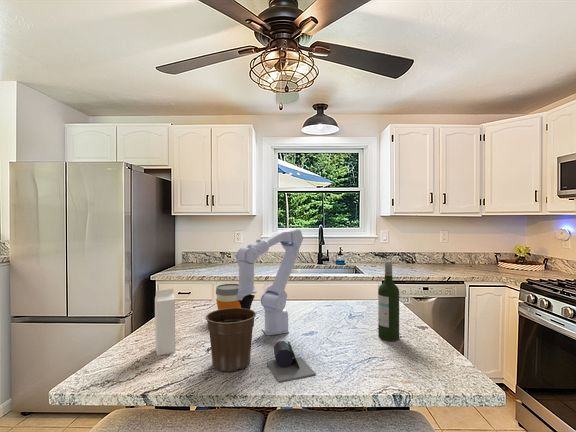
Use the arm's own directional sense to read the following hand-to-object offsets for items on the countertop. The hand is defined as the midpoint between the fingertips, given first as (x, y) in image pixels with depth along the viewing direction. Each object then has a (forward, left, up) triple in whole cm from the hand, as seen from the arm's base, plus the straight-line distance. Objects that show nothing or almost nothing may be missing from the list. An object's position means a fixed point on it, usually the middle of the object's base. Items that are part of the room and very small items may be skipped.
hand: (245, 314), depth 124 cm
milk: (+29, -3, -11) cm, 31 cm away
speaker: (-8, +17, -8) cm, 21 cm away
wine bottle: (-53, +16, -11) cm, 57 cm away
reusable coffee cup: (+1, -30, -11) cm, 31 cm away
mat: (-8, +26, -10) cm, 30 cm away
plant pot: (+9, +16, -11) cm, 21 cm away
